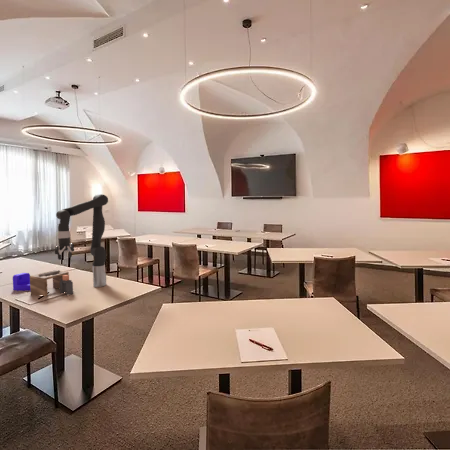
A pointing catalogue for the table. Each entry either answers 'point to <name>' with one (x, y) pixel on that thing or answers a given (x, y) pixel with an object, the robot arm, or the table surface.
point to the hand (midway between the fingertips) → (65, 258)
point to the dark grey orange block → (66, 285)
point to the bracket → (21, 282)
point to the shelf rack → (45, 281)
